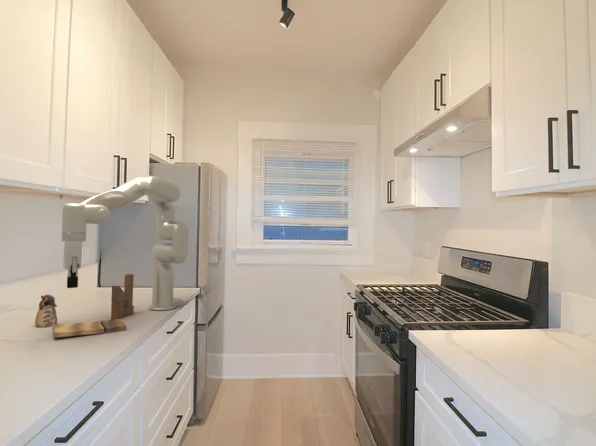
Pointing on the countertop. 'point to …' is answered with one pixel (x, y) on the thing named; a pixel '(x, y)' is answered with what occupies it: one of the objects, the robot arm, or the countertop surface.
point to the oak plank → (77, 329)
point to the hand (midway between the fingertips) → (72, 287)
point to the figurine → (46, 312)
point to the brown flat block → (113, 325)
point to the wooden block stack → (122, 299)
